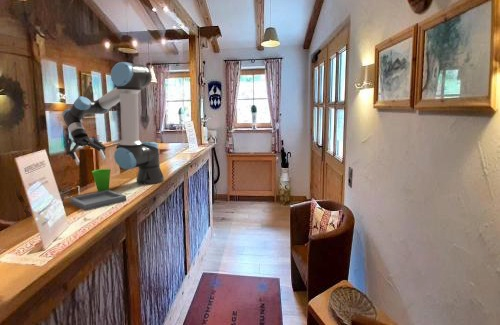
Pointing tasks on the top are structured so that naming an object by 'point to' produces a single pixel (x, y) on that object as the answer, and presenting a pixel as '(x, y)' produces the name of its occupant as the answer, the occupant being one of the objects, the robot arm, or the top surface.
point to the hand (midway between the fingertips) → (92, 161)
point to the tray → (97, 199)
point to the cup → (102, 179)
